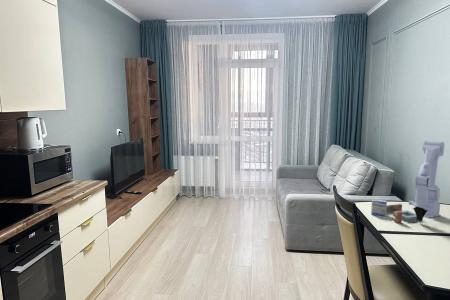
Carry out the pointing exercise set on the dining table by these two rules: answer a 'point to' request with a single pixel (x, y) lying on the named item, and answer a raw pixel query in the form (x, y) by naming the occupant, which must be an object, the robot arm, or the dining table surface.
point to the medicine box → (378, 207)
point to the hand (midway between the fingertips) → (419, 220)
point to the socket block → (407, 216)
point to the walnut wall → (394, 208)
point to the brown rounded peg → (398, 217)
